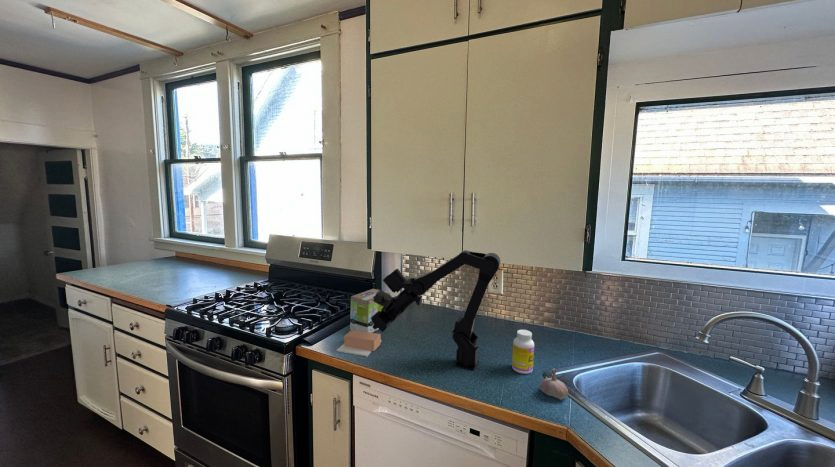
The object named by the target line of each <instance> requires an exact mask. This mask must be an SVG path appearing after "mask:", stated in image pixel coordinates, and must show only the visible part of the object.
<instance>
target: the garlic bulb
mask: <svg viewBox="0 0 835 467" xmlns="http://www.w3.org/2000/svg"><path fill="white" fill-rule="evenodd" d="M551 374H552V375H551V377H546V378H543V379H542V381H541V383H539V384H540V385H539V388H540V391H541V392H543V393H544V394H545V395H547V396H549V397H554V398H556V399H558V400H561V401H562V400H564V399H566V398H567V397H568V396H569V390H568V387H567V386H566V384H565V383H564V381H563V382H562V381H561V380H560V379H557V374H556V368H555V367H554V368H552V370H551Z"/></svg>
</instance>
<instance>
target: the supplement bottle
mask: <svg viewBox="0 0 835 467" xmlns="http://www.w3.org/2000/svg"><path fill="white" fill-rule="evenodd" d="M532 338H533V333H532V332H531V331H530V330H527V329H518V330H517V332H516V337H515V338H514V339H513V343H512V359H511V366H512V370H513V371H515V372H516V373H519V374H525V375H527V374H531V373H532V372H533V368H534V357H535V342H534V341H533V339H532Z"/></svg>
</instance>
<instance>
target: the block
mask: <svg viewBox="0 0 835 467" xmlns="http://www.w3.org/2000/svg"><path fill="white" fill-rule="evenodd" d="M381 334H382V333H376V332H372V333H371V332H364V331H358V330H349V332H347V333H345V335H344V337H343V340H344V341H343V342H344V343H343V344H344V346H346V347H352V348H358V349H364V350H370V351H372V352H375V351H376V350H377V348H378V347H380V345H381V342H382V341H381V340H382V338H381Z"/></svg>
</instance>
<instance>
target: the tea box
mask: <svg viewBox="0 0 835 467" xmlns="http://www.w3.org/2000/svg"><path fill="white" fill-rule="evenodd" d="M380 290H381V289H377V288H376V289H375V288H371V289H369V290H365V291H363V292H359V293H357V294H354V295H351V296H350V310H349V311H350V313H349V314H350V315H349V316H350V317H349V319H350V322H349V324H350V325H349V326H350V327H349V329H350V330H349V331H351V330H358V331H364V332H371V333H375V332H376V331H378V330H380V329H379V328H376V329H374V328H373V325H374V322H373V321H372V320H371V317H372V316H373V315H374V314H376V313H377V312H378V311H380V312H381V309H382V308H383V307H384V306H381V305H379V304H377V303H375V302H374V301H373V299H374V298H373V297H374V296H375V295H376V293H377V292H378V291H380ZM383 291H384V292H386V293H387V294H389V295H391V292H390V291H386V290H383Z"/></svg>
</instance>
